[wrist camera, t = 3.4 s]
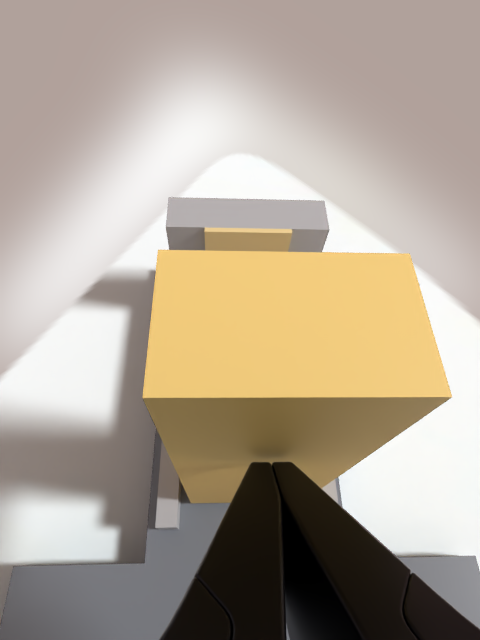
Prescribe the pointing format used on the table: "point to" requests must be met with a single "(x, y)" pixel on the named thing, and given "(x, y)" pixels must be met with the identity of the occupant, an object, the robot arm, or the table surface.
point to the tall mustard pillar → (285, 362)
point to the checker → (167, 490)
